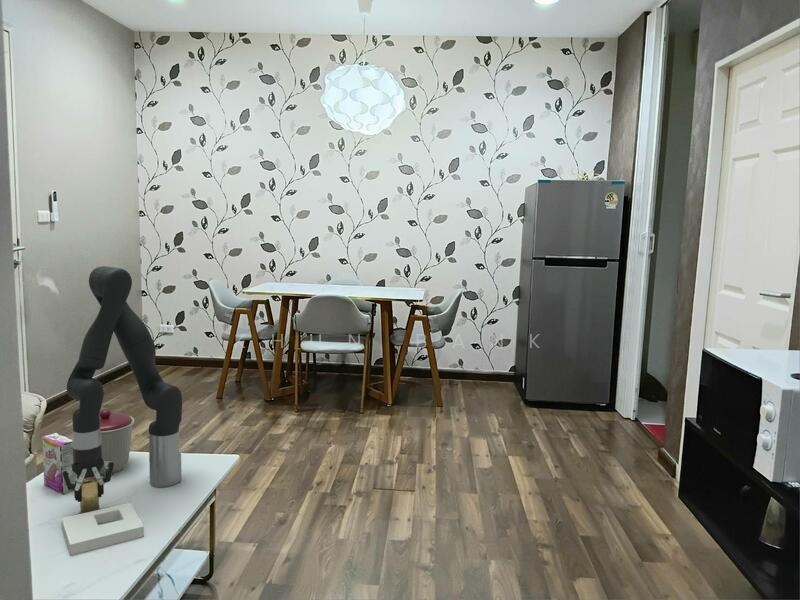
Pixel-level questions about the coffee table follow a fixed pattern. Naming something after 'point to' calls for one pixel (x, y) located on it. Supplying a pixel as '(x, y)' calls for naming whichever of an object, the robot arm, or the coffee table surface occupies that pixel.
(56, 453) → the candy bar box
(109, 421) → the canister
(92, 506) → the gold metal peg
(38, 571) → the coffee table surface
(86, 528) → the jig
